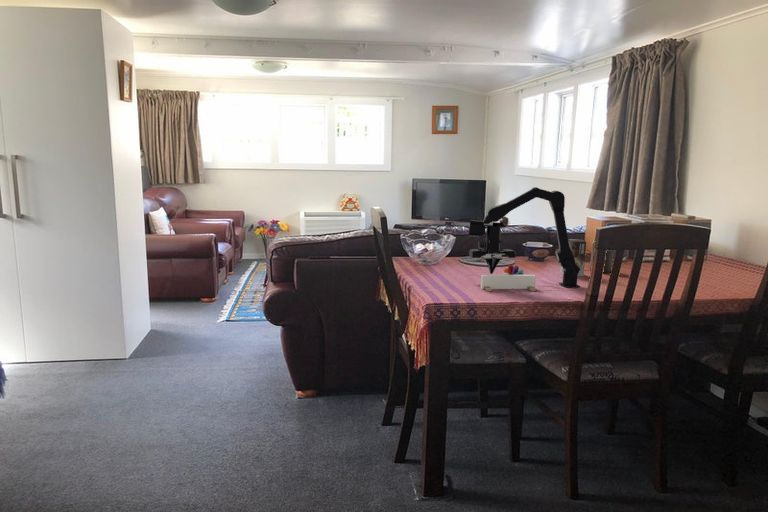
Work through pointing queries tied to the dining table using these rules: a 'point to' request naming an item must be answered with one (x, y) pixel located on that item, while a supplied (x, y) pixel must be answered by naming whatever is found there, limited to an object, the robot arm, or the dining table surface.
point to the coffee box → (578, 254)
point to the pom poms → (513, 270)
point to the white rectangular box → (508, 282)
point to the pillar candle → (607, 262)
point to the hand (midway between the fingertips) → (491, 273)
